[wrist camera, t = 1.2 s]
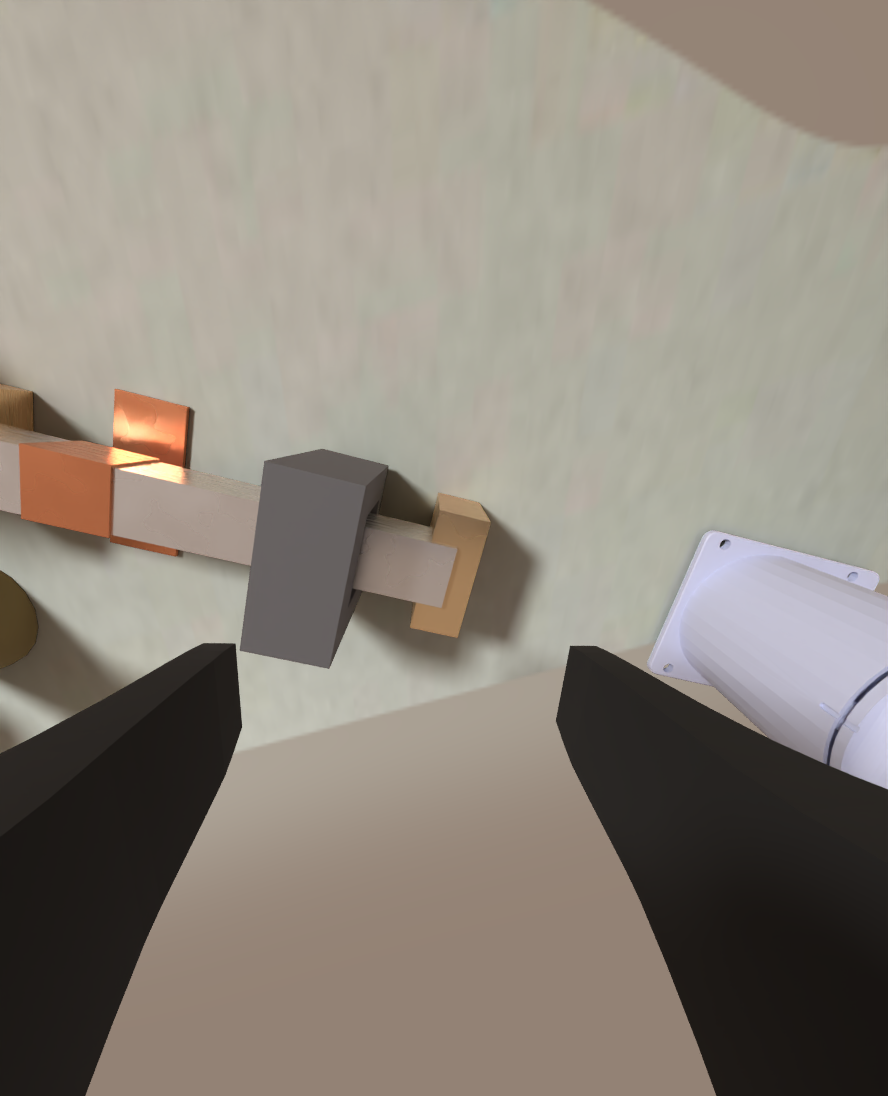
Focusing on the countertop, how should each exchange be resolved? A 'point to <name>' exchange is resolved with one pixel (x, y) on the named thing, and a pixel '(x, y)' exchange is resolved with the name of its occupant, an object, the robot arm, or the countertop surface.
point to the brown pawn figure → (15, 622)
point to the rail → (216, 506)
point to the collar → (308, 554)
